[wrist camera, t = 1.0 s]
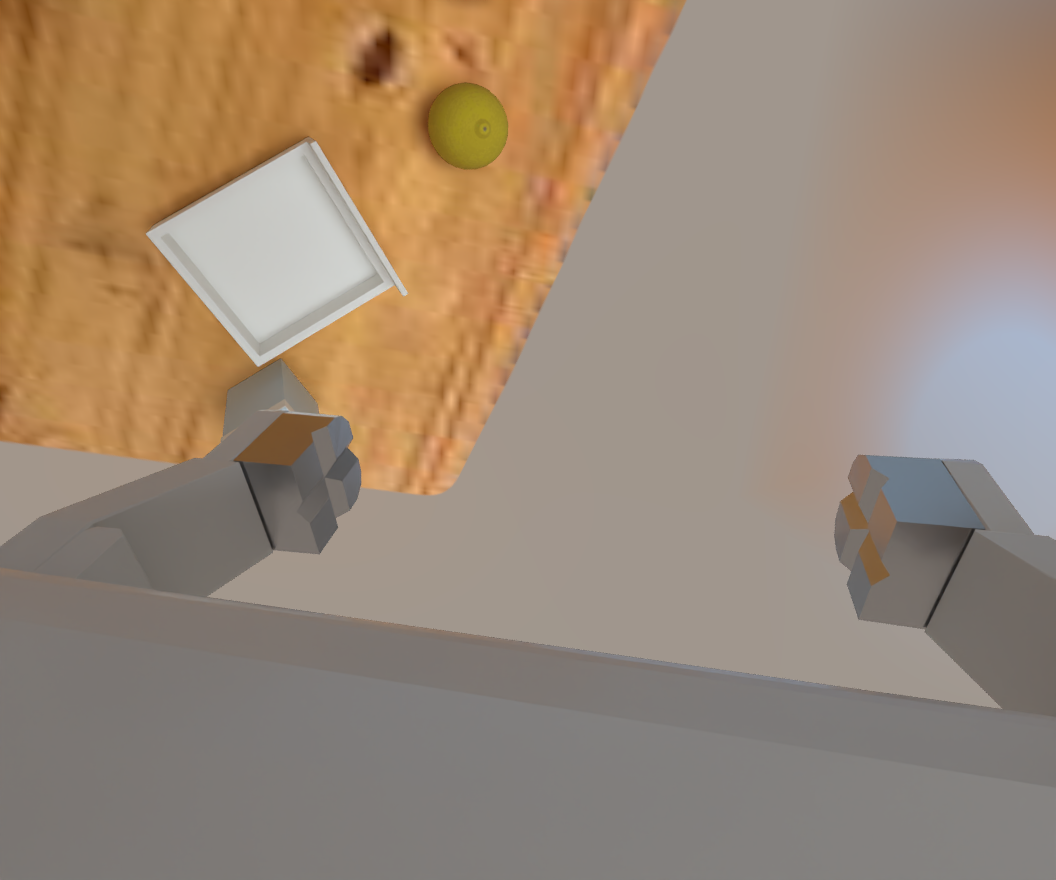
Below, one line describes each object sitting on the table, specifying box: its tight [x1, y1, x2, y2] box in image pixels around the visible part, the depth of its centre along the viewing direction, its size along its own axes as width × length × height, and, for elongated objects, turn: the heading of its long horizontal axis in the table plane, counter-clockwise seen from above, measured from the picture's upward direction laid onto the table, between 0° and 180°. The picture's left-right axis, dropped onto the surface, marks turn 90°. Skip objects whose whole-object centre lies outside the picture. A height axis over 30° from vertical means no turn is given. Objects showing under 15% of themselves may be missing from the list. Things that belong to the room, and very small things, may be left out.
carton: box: [221, 358, 319, 442], centre depth 47 cm, size 5×5×10 cm
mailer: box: [146, 137, 408, 367], centre depth 43 cm, size 11×13×7 cm
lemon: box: [428, 83, 508, 169], centre depth 43 cm, size 6×6×8 cm
